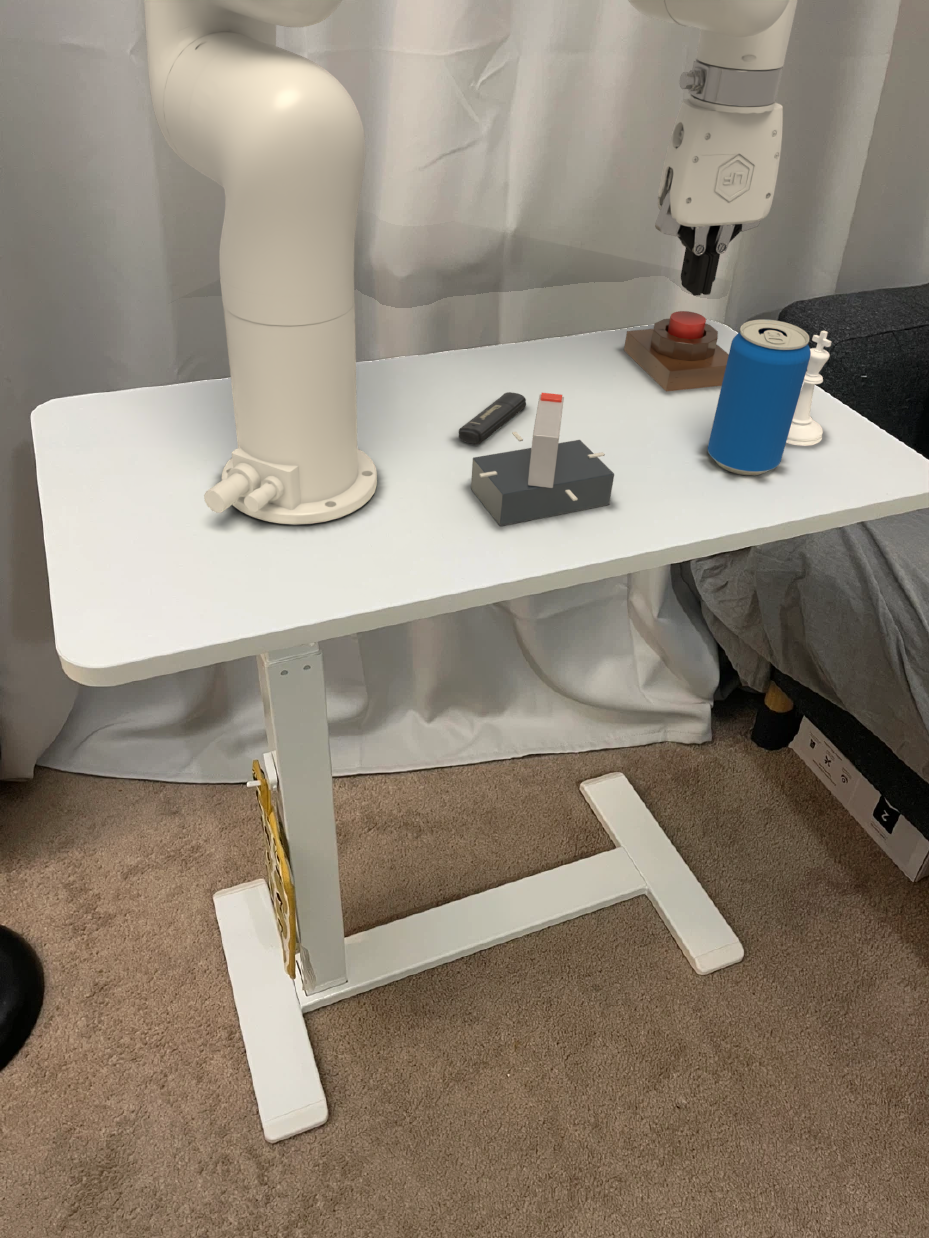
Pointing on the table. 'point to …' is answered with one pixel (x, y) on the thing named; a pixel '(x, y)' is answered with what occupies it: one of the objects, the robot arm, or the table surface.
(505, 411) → the usb stick
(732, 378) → the beverage can
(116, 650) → the table surface
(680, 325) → the button
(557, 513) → the dark grey marked platform
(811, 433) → the chess piece
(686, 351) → the button block
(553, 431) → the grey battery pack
